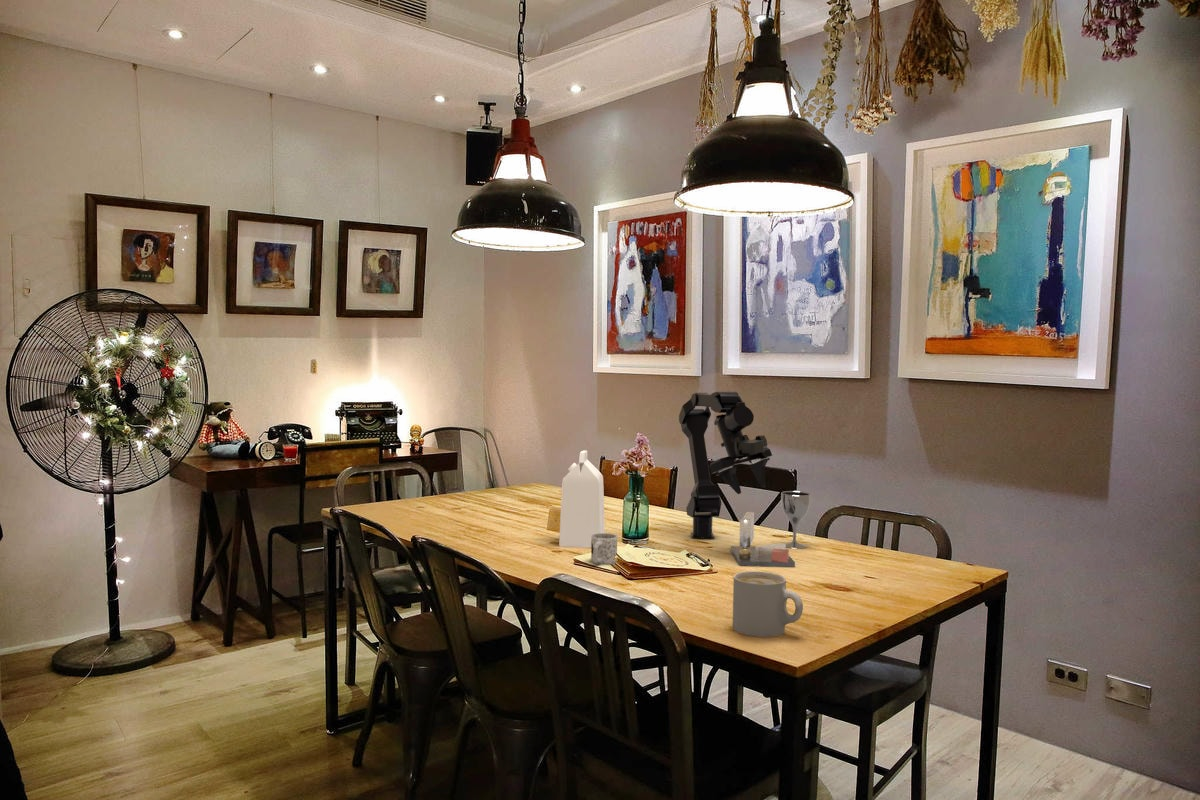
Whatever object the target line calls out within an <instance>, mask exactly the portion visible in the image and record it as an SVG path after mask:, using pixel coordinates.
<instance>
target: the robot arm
mask: <svg viewBox="0 0 1200 800" xmlns="http://www.w3.org/2000/svg"><path fill="white" fill-rule="evenodd" d="M696 407H705V409H703V408H696ZM710 409H711V410H710ZM712 411H713V412H714V413H718V414H719V415H716V416H715V417H716V418H715V420H714V426H717V428H718V431H719V433H720V437H721V440H722V442H721V443H720V446H721V448H725V450H726V453H727V454H726V455H727V456H725V457H721V458H718V459H716V460H713V462H710V465H709V460H708V452H707V445H706V439H705V434H706V431H707V429H708V428H709V422H710V418H711V416H712ZM754 416H755V415H754V413H753V412H752V410H751V409H750V408H749V407H747V405H746V402H745V401H743V400H742V398H741V396H740V395H739V393H738V392H737V391H714V392H711V393H708V392H695V393H692V394H691V397H690V398H689V400H688V401H687V402H685V403H684V404H682V406H681V409H680V412H679V414H678V422H679V424H680V428H681V432H682V433H683V434H684V435H685V436H686V438H687V439H688V444H689V452H690V459H691V465H692V472H693V473H692V474H693V480H694V481H693V482H694V486H693V488H692V490H691V492H690V499H689V501H688V503H687V506H686V515H687V516H689V517H690V518H692V531H691V532H690V536H691V538H692V539H710V540H711V539H715V535H714V533H713V518H715V517H716V518H717V517H720V512H721V508H722V499H721V496H720V493H719V486H718V485H717V484H714V483H713V482H712V481H711V479H712V478H711V474H715V476H718V477H720V478H721V479H722V480H723V481H724V482H725V483H726V484H727V485H729V487H731V489H733V490H734V492H735V493H736V494H737V495H740V494H742V491H741V490H742V489H741V485H740V482H739V480H738V478H737V477H738V476H737V473H736V472H737V468H738V467H737V465H740V464H744V463H747V462H749V463H750V464H749V468H750V470H751V472H752V473H753V475H754V477H755V479H756V481H757V483H758V484H759V485H760V487H761V488H765V487H766V466H767V463H768V462H769V461H770V459H771V457H772V456H773V454H772V451H771V449H770V448H769V447H768V441H767V438H766V437H765V435H761V434H760V435H757V436H755V438H753V439H750V438H749V436H748V435H747V434H744V433H743V430H744V429H746V428H747V427H749V426H750V425H752V424H753V422H754ZM735 465H736V466H735ZM710 472H711V474H710Z"/></svg>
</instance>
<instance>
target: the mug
mask: <svg viewBox="0 0 1200 800" xmlns="http://www.w3.org/2000/svg"><path fill="white" fill-rule="evenodd" d="M590 549H591V550H590V552H591V554H590V562H591V563H592V564H596V565H602V566H604V565H605V566H606V565H608V566H609V565H614V564H617V563H618V559H617V558H618V557H617V558H616V559H614V558H615V556H616V553H617V554H618V535H616V534H615V533H609V532H608V533H607V532H605V533H599V534H593V535H592V536H591V548H590ZM612 559H614V560H612Z"/></svg>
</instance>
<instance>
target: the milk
mask: <svg viewBox="0 0 1200 800" xmlns="http://www.w3.org/2000/svg"><path fill="white" fill-rule="evenodd" d="M567 470H568V471H569V472H568V473H566V475H565V476H563V478H562V482H561V495H560V496H561V497H560V499H561V500H560V501H561V502H560V518H559V519H560V520H559V522H560V523H559V542H558V543H559V544H558V545H559V546H558V547H560V548H582V549H583V548H585V549H586V548H588V549H591V536H592V535H593V534H599V533H606V531H605V530H606V529H605V528H606V527H605V526H606V524H605V496H604V495H605V493H604V489H605V488H604V475H603V474H602V473H601V472H600V470H599V469H598V468H597V467H596V466H595V465H593V463H591V461H590V460H589V459H588V450H582V451H580V452H579V458H578V463H576V462H573V463H572V464H571V465H570V466H569V467H568V469H567Z"/></svg>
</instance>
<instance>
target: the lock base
mask: <svg viewBox="0 0 1200 800" xmlns="http://www.w3.org/2000/svg"><path fill="white" fill-rule="evenodd" d="M784 543H785V542H777V543H770V544H769V543H768V544H758V545H755V546H750V547H749V548H743V547H740V546H737V545H736V546H734V545H733V546H730V553H731V554H732V557H734V559H735V560H736V562H737V564H738V566H739V567H778V568H779V567H781V568H784V567H786V568H795V566H796V562H795V561H794V560H793V558H792V557H791V556H790V555H789V554H790V552H789V551H790V550H789V549H788V548H786V544H784Z"/></svg>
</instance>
